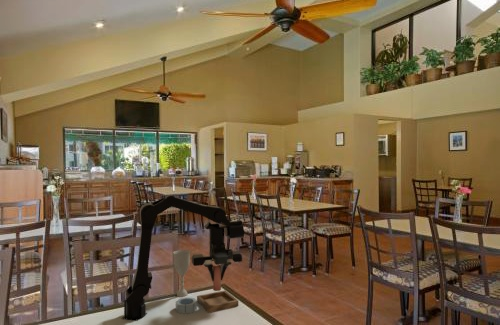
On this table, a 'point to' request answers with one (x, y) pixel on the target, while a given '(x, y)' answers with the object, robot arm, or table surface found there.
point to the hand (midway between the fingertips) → (217, 280)
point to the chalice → (182, 267)
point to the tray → (217, 301)
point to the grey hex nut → (186, 305)
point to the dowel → (217, 277)
